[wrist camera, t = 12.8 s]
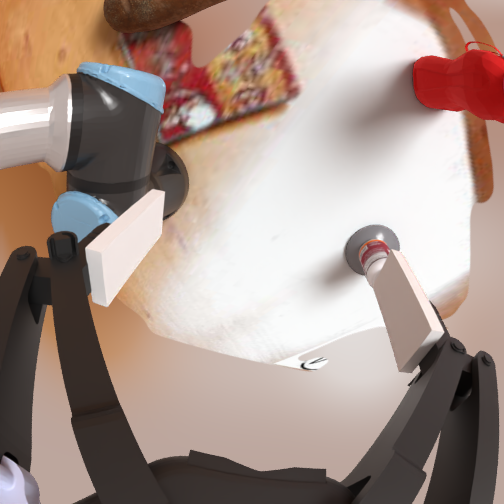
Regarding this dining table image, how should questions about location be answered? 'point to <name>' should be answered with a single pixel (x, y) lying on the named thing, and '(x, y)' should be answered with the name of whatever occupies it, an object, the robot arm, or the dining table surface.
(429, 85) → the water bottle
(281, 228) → the dining table surface
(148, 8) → the bread
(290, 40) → the dining table surface
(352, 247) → the coaster
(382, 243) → the pill bottle
